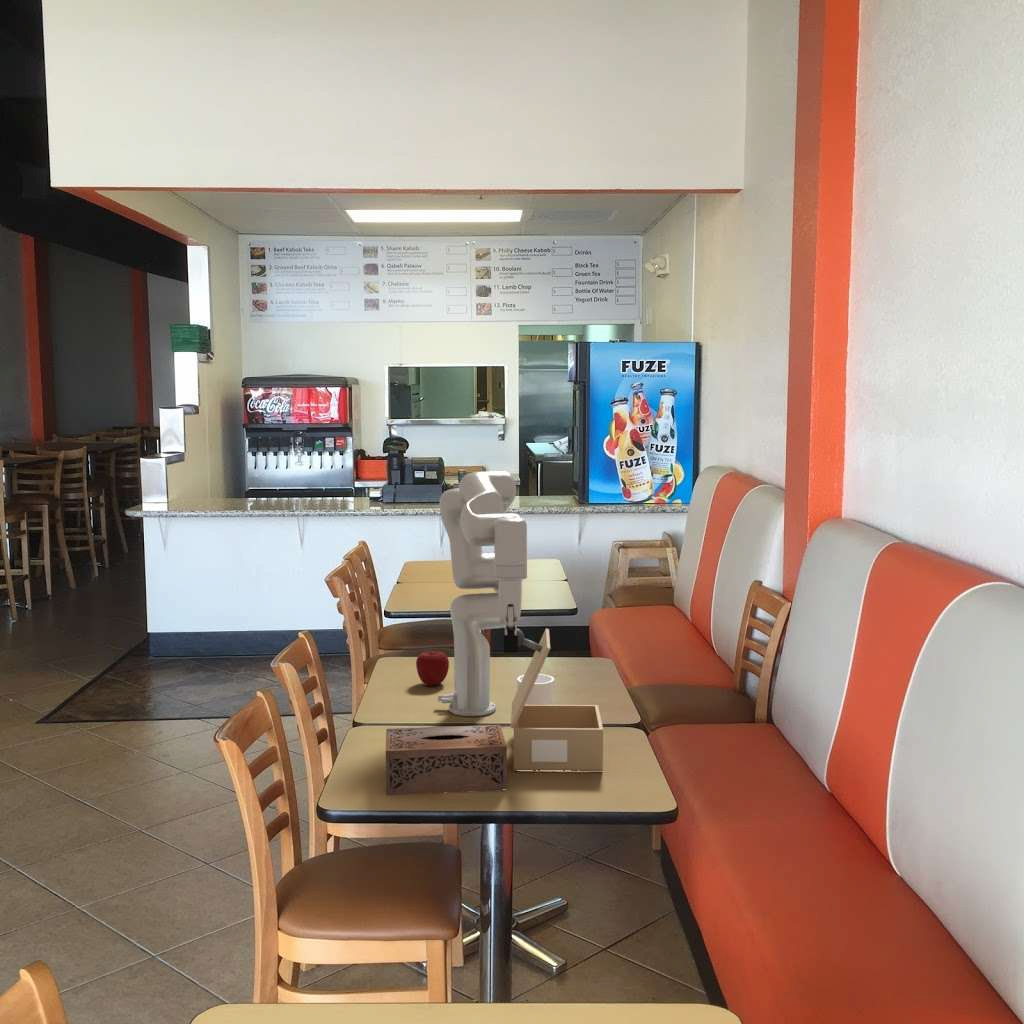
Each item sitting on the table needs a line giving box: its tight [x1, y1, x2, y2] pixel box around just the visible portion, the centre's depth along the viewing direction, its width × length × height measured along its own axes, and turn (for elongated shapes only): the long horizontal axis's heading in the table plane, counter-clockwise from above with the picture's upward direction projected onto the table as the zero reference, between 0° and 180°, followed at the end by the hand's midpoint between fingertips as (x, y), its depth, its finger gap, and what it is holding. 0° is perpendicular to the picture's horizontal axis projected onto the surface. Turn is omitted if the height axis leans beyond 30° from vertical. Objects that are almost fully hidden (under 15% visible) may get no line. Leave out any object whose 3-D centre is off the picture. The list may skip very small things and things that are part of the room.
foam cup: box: [516, 673, 555, 705], centre depth 258 cm, size 10×9×13 cm
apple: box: [415, 650, 450, 687], centre depth 298 cm, size 10×10×10 cm
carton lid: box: [510, 628, 551, 729], centre depth 236 cm, size 20×18×10 cm
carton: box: [513, 704, 604, 772], centre depth 237 cm, size 20×18×10 cm
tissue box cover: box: [385, 724, 508, 796], centre depth 224 cm, size 26×14×10 cm, turn 96°
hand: (510, 648), depth 235 cm, fingers closed on carton lid, 4 cm apart
